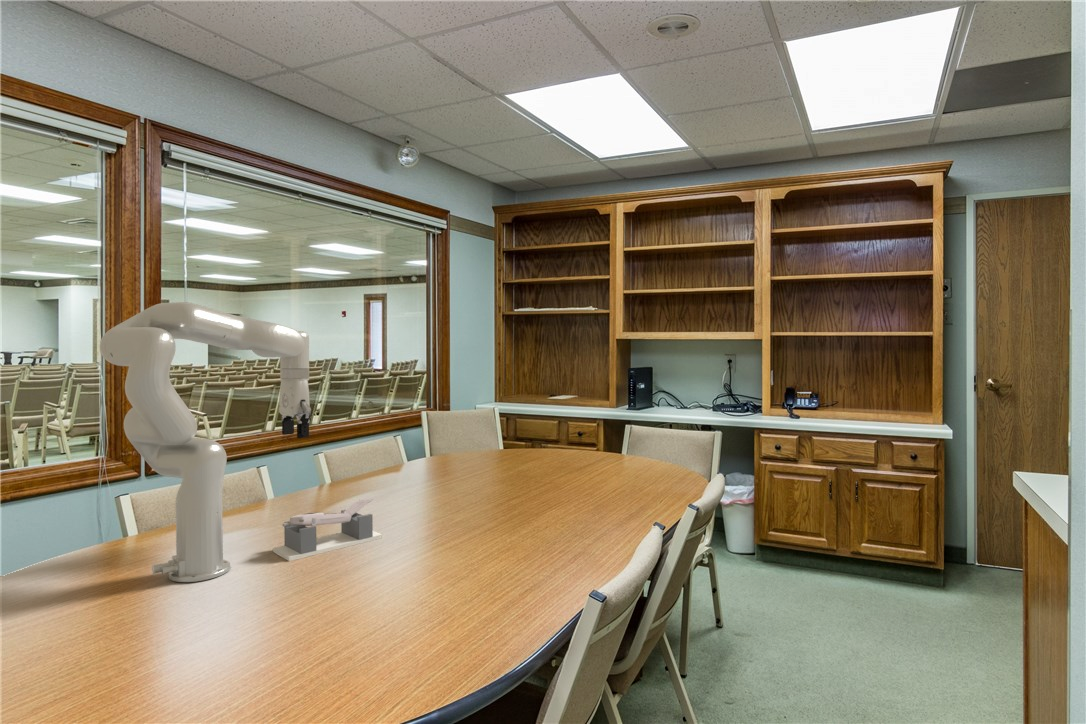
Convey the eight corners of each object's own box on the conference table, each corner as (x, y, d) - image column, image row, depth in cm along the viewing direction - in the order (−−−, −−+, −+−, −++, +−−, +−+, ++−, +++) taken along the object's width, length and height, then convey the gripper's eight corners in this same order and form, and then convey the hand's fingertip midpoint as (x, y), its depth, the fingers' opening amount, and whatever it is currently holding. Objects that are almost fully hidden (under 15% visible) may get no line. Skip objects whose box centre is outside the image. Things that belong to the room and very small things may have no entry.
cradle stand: (289, 561, 150) (289, 532, 150) (273, 551, 157) (272, 524, 157) (382, 538, 169) (382, 512, 169) (364, 530, 176) (363, 505, 176)
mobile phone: (374, 498, 173) (295, 503, 152) (374, 519, 171) (294, 527, 151) (360, 499, 176) (281, 504, 156) (360, 520, 175) (280, 528, 155)
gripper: (269, 374, 173) (269, 434, 174) (294, 376, 161) (295, 440, 161) (295, 373, 179) (295, 431, 179) (321, 375, 166) (322, 437, 167)
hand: (295, 435), depth 170 cm, fingers open, 9 cm apart
